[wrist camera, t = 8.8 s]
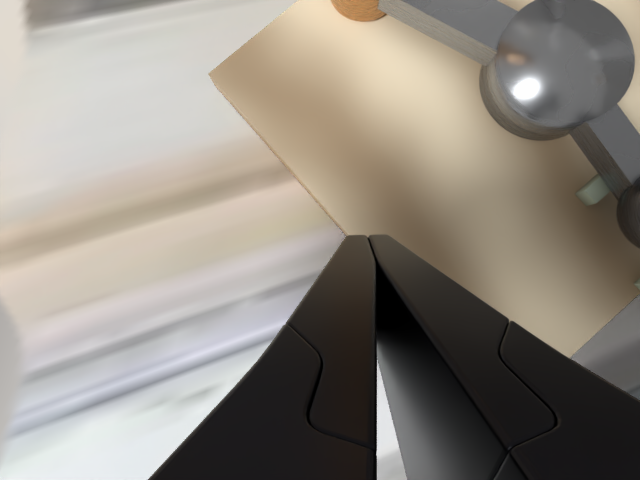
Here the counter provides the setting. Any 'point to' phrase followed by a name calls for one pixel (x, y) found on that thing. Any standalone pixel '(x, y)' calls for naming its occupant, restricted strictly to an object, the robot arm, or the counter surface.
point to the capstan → (542, 75)
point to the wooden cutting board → (440, 164)
